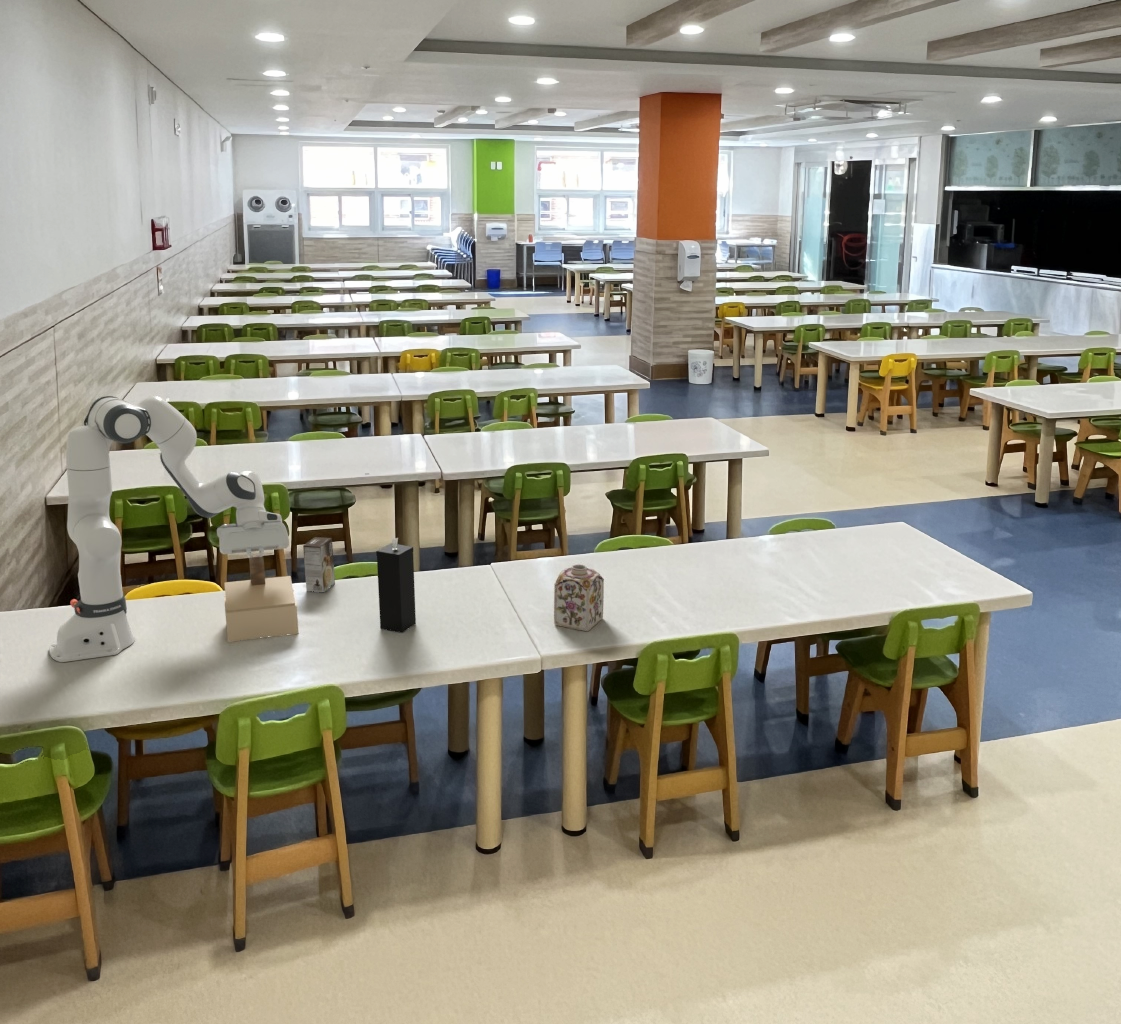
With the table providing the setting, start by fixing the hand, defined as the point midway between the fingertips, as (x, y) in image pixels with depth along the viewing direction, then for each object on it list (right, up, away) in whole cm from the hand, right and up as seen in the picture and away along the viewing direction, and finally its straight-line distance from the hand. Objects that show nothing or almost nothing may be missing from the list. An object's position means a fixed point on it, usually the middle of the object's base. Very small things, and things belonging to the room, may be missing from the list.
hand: (256, 563), depth 321 cm
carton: (+2, -20, +1) cm, 20 cm away
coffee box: (+12, -10, +33) cm, 37 cm away
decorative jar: (+96, -18, +7) cm, 98 cm away
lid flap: (+2, -9, -3) cm, 10 cm away
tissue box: (+42, -19, +3) cm, 46 cm away
